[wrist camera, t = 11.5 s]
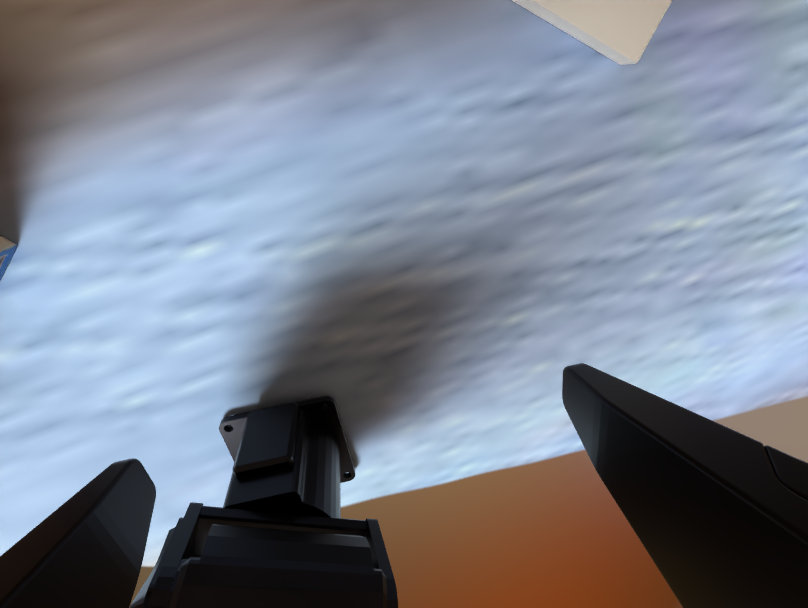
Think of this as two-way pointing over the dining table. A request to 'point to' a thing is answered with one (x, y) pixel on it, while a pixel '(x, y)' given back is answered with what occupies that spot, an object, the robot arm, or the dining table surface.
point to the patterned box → (5, 253)
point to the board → (604, 23)
